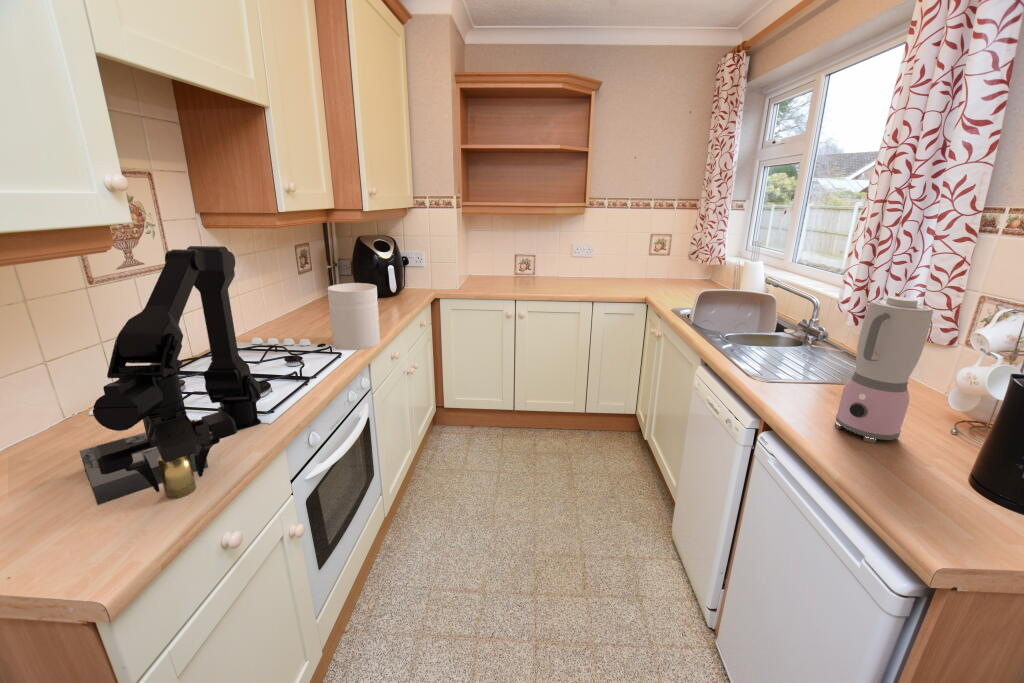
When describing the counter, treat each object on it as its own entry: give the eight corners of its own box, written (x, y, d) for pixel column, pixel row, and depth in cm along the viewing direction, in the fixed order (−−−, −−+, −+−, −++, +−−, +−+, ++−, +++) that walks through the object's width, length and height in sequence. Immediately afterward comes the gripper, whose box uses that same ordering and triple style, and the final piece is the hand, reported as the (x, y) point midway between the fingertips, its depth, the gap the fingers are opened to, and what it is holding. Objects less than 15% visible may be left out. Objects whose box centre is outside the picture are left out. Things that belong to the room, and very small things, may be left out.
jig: (184, 437, 98) (181, 422, 96) (208, 467, 87) (205, 450, 86) (83, 467, 86) (79, 450, 85) (97, 505, 76) (92, 487, 75)
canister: (322, 346, 158) (316, 289, 152) (351, 334, 173) (347, 281, 167) (362, 352, 153) (357, 293, 147) (388, 339, 168) (385, 285, 162)
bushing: (192, 480, 83) (185, 446, 81) (199, 490, 80) (192, 455, 78) (162, 491, 80) (154, 455, 78) (169, 502, 77) (160, 465, 75)
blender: (851, 415, 116) (885, 291, 107) (908, 437, 106) (952, 302, 97) (814, 428, 109) (847, 296, 100) (872, 452, 99) (914, 308, 90)
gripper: (93, 438, 63) (119, 532, 68) (241, 399, 77) (254, 480, 81) (82, 412, 70) (106, 499, 75) (219, 381, 84) (232, 456, 88)
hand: (179, 483), depth 80 cm, fingers open, 6 cm apart
